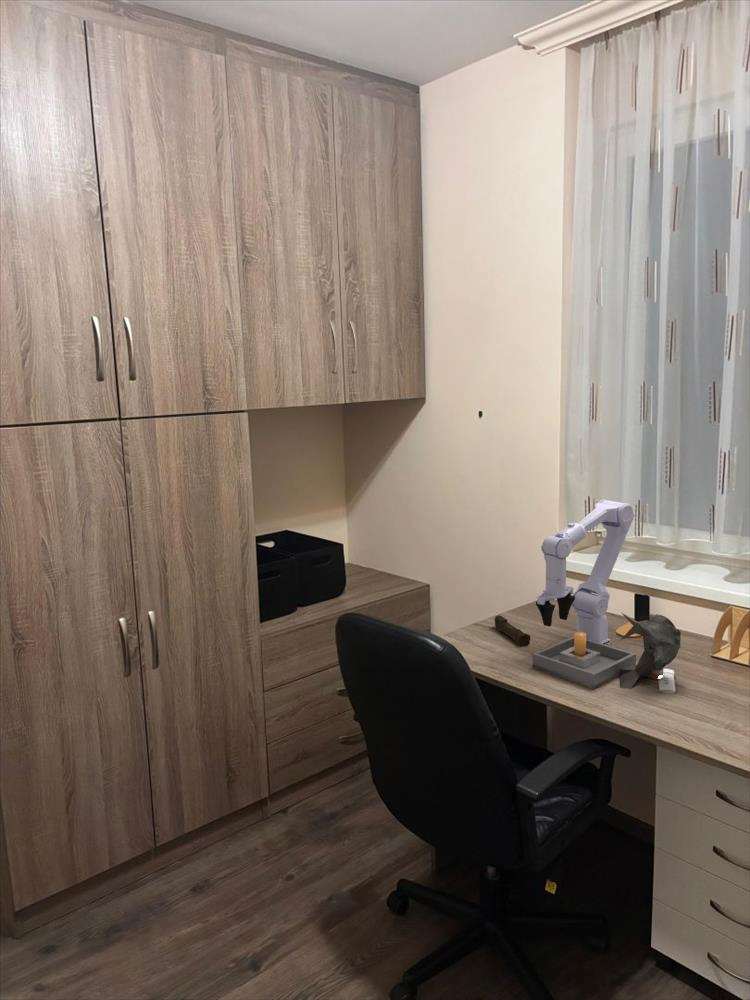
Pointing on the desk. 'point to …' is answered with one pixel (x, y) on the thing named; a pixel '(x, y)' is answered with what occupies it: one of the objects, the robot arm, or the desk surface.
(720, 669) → the desk surface
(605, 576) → the robot arm
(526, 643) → the dark brown rod
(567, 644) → the walled box
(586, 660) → the inlet socket
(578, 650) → the orange wooden block
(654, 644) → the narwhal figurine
